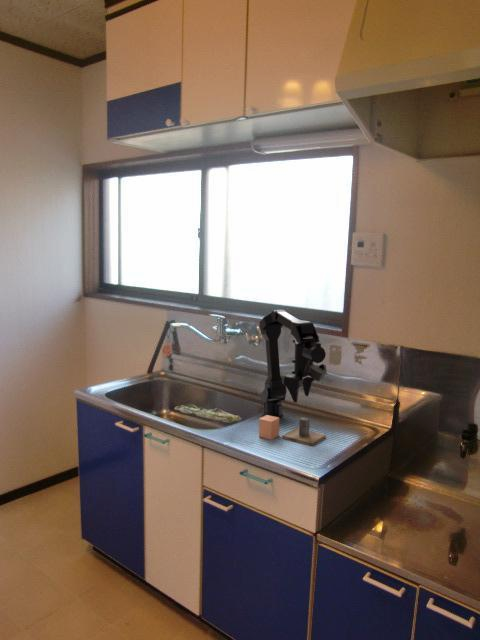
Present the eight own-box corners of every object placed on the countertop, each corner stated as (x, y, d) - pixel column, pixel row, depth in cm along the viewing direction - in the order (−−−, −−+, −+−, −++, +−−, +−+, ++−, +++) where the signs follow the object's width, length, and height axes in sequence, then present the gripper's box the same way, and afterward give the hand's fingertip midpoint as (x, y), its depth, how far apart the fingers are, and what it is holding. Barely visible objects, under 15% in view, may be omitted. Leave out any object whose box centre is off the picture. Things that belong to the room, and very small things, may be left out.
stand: (282, 438, 179) (282, 419, 178) (296, 430, 187) (296, 411, 186) (312, 446, 172) (313, 426, 171) (325, 437, 180) (326, 418, 179)
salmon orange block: (258, 436, 180) (259, 418, 179) (266, 432, 184) (267, 414, 183) (271, 439, 177) (271, 421, 176) (278, 435, 181) (279, 417, 180)
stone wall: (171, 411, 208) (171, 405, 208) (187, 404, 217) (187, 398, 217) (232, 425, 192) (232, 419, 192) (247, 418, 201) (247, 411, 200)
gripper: (312, 365, 167) (310, 410, 170) (334, 355, 183) (332, 396, 185) (282, 360, 173) (281, 404, 176) (306, 351, 189) (304, 391, 191)
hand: (301, 399), depth 182 cm, fingers open, 9 cm apart
